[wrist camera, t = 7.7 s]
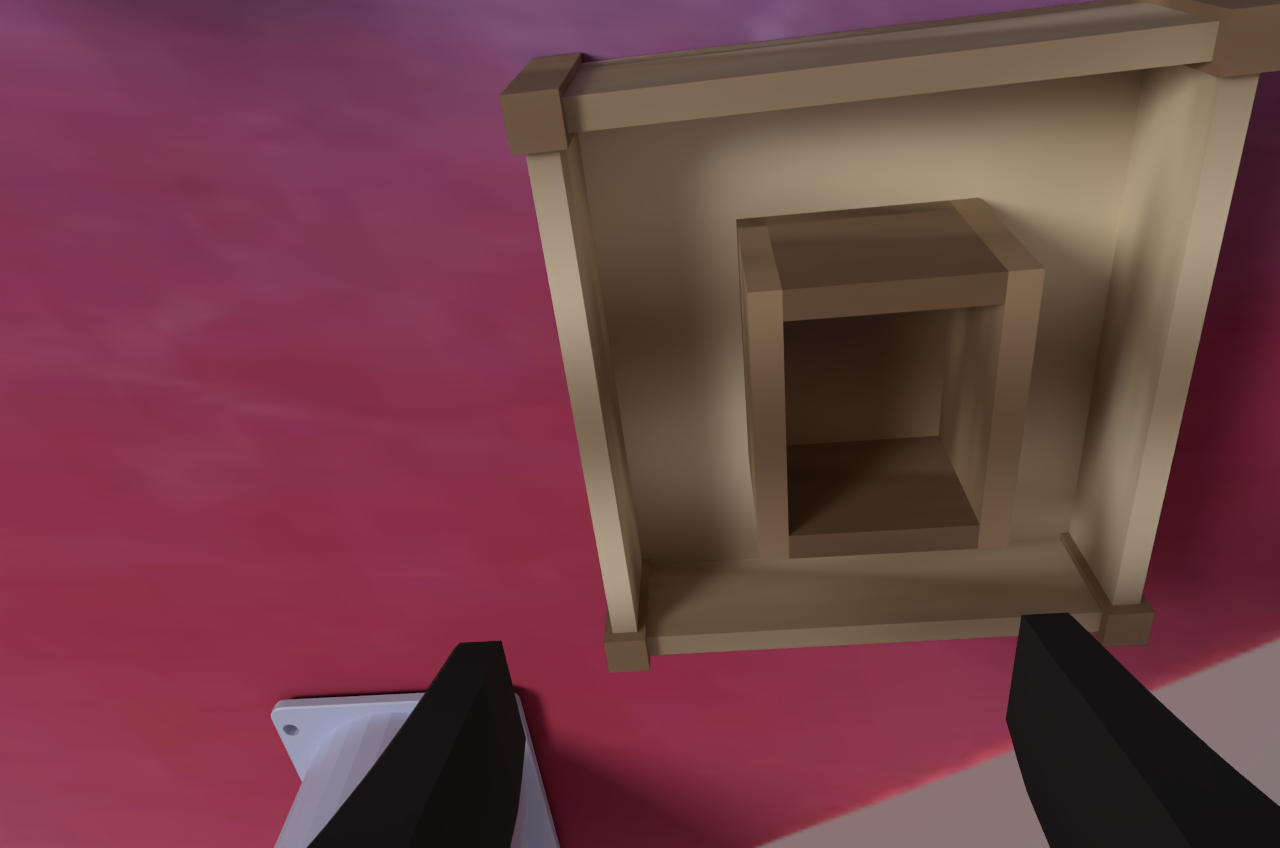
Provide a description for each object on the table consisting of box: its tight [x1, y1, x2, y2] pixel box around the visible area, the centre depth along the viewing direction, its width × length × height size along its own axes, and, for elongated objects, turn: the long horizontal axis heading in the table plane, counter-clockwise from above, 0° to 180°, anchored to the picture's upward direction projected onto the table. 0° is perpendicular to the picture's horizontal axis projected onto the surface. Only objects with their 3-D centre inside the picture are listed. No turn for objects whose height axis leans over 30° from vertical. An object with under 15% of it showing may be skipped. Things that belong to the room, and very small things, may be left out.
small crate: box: [736, 198, 1045, 560], centre depth 18 cm, size 6×5×4 cm
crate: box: [499, 0, 1280, 672], centre depth 19 cm, size 14×13×4 cm
